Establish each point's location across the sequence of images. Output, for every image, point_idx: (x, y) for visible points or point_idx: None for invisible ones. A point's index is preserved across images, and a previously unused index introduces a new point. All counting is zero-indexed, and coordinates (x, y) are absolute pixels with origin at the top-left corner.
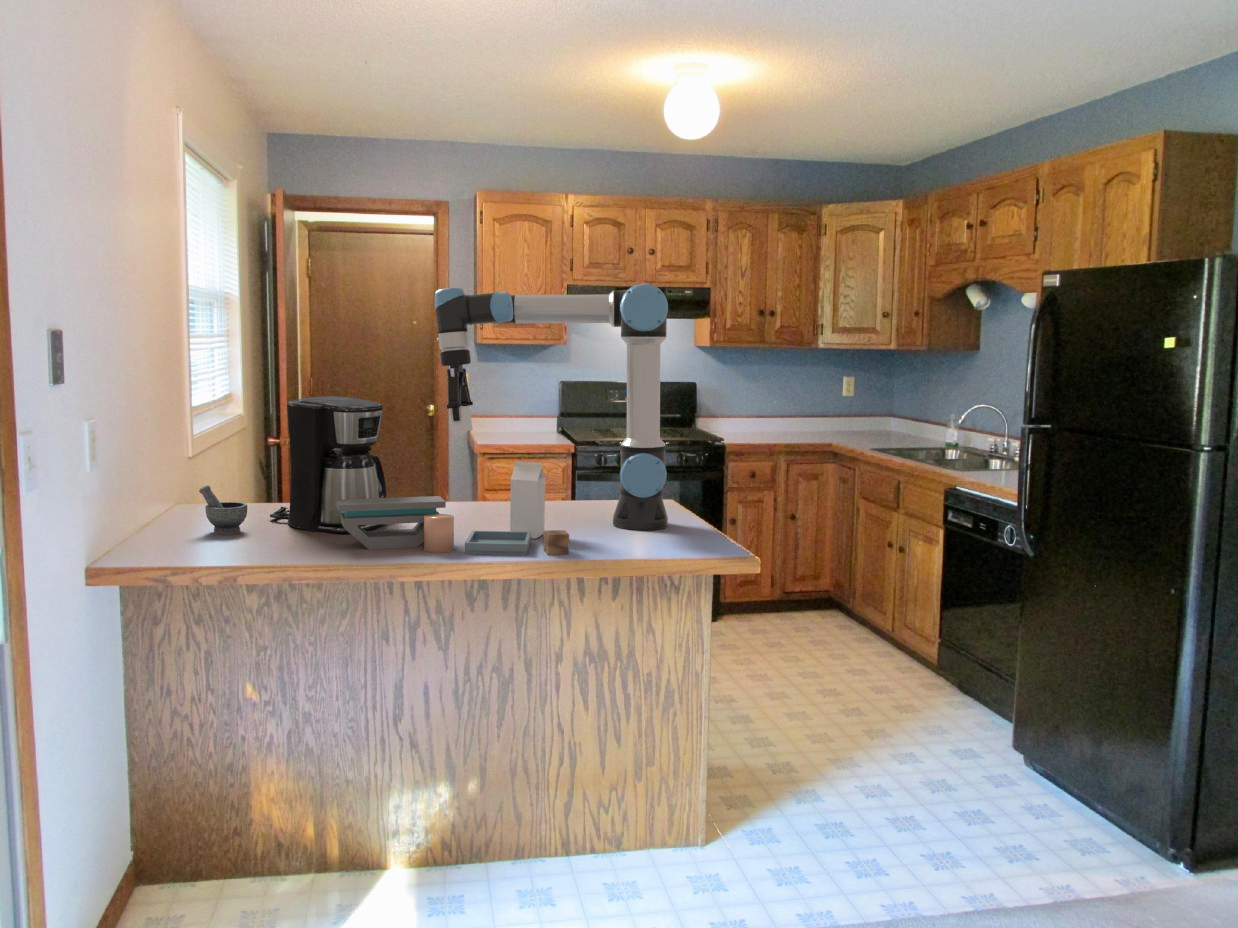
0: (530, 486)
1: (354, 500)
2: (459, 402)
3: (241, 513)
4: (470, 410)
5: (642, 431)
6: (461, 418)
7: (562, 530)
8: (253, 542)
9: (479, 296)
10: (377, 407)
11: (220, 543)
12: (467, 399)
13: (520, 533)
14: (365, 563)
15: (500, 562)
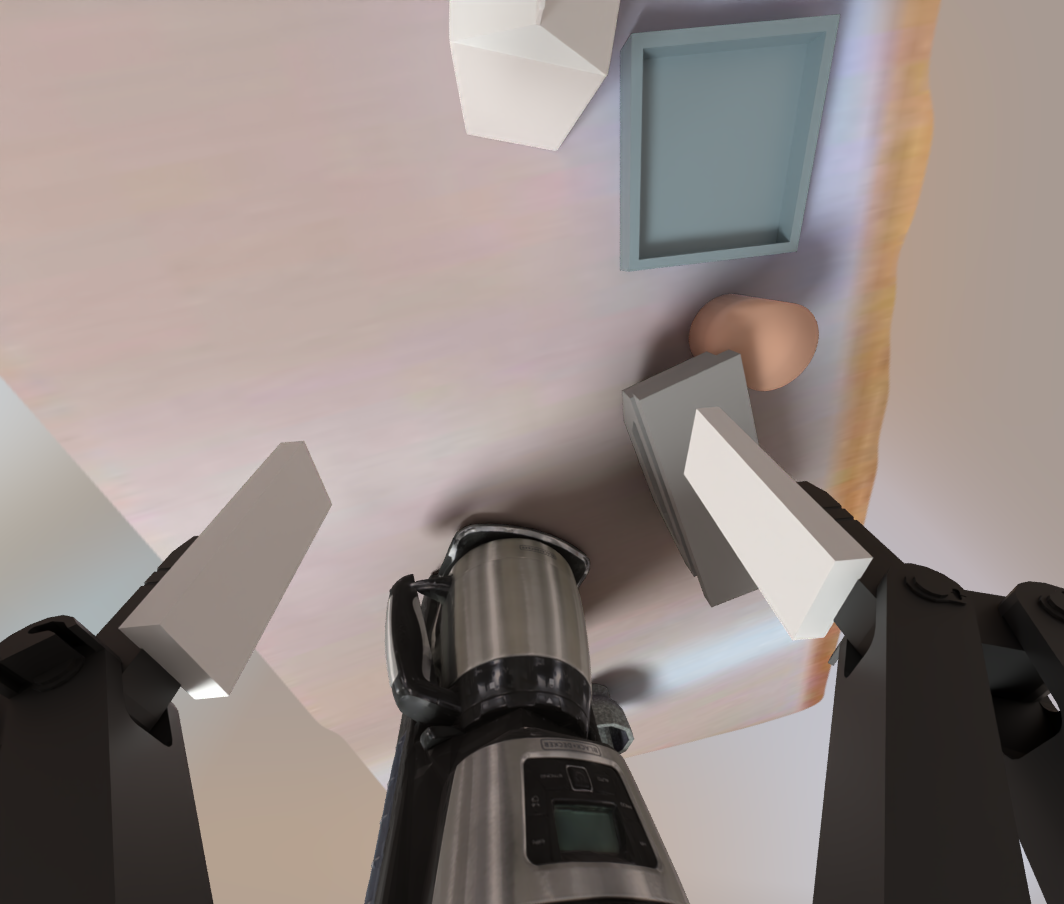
0: None
1: (723, 572)
2: (976, 623)
3: (611, 711)
4: (172, 573)
5: None
6: (787, 481)
7: None
8: (663, 642)
9: None
10: None
11: (671, 670)
12: (113, 738)
13: (640, 83)
14: (838, 438)
15: (890, 117)
